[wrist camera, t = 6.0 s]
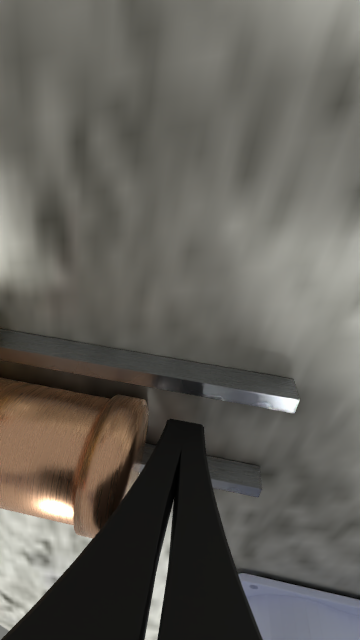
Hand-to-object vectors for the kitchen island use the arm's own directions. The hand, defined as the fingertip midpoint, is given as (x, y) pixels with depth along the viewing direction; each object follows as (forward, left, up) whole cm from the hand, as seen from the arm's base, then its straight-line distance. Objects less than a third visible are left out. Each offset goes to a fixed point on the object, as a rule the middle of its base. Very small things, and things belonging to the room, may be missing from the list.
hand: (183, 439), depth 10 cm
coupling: (+6, 0, -1) cm, 6 cm away
